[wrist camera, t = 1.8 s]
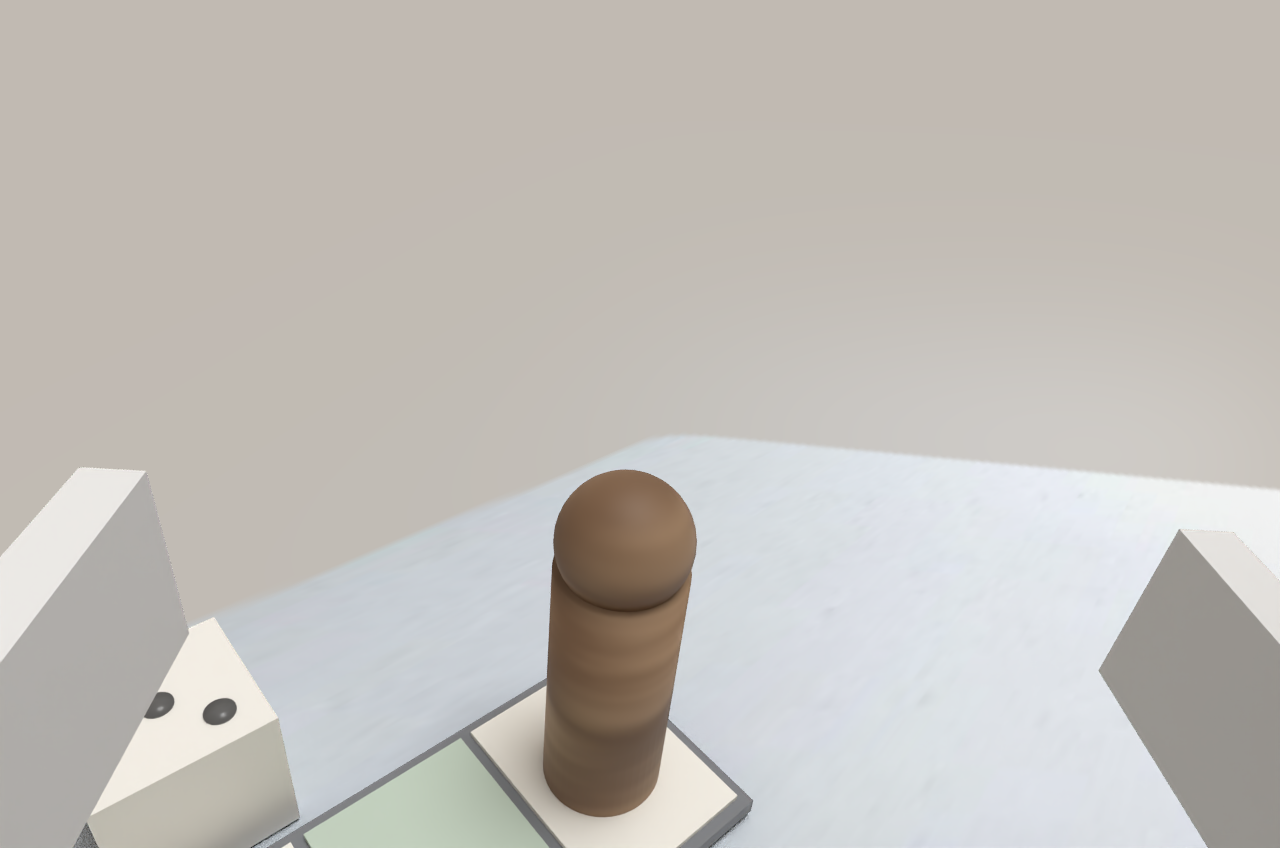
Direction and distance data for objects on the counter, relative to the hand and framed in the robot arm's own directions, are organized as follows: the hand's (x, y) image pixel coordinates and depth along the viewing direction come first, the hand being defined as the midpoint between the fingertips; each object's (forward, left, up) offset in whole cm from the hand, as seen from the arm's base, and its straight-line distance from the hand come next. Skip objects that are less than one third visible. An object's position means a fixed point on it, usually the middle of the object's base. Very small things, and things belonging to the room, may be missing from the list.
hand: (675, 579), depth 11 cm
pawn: (+7, -6, -18) cm, 20 cm away
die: (+15, +5, -19) cm, 24 cm away
